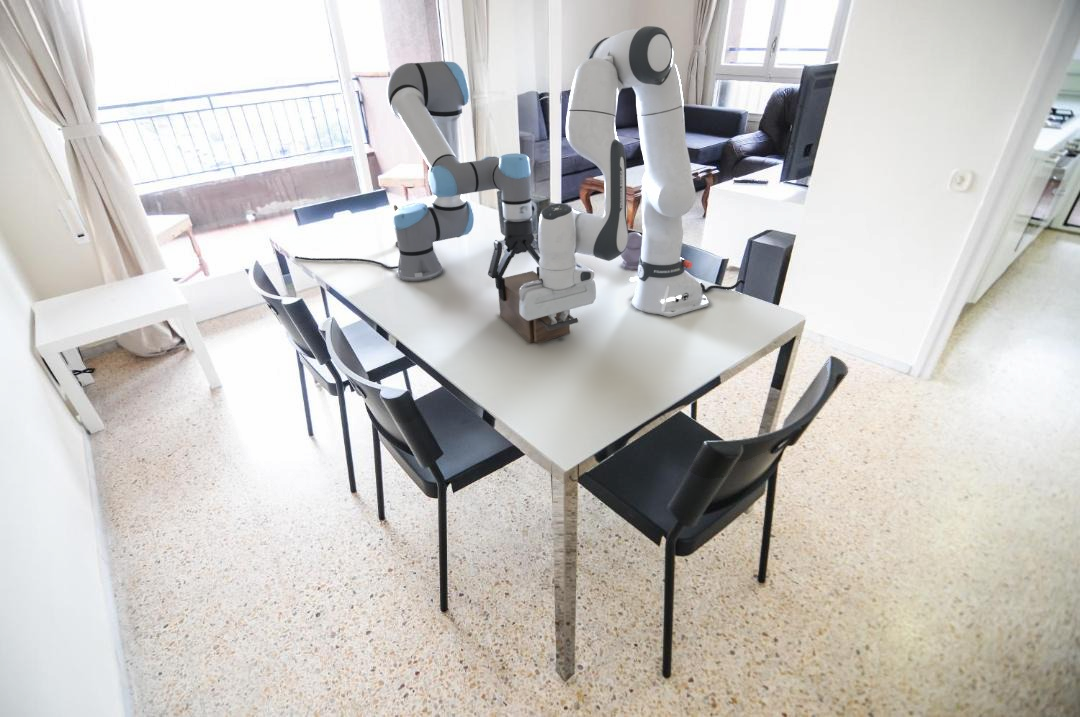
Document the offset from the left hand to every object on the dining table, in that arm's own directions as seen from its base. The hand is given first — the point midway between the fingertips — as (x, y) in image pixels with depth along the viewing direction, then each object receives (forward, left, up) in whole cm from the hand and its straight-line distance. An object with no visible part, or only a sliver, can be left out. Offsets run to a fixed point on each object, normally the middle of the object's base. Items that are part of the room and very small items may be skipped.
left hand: (522, 294), depth 141 cm
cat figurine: (+22, +47, -7) cm, 52 cm away
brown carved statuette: (-71, +48, -7) cm, 86 cm away
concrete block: (-23, +59, -7) cm, 64 cm away
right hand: (+16, -13, -1) cm, 21 cm away
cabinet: (+4, -4, -7) cm, 9 cm away
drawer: (+9, -7, -6) cm, 13 cm away
